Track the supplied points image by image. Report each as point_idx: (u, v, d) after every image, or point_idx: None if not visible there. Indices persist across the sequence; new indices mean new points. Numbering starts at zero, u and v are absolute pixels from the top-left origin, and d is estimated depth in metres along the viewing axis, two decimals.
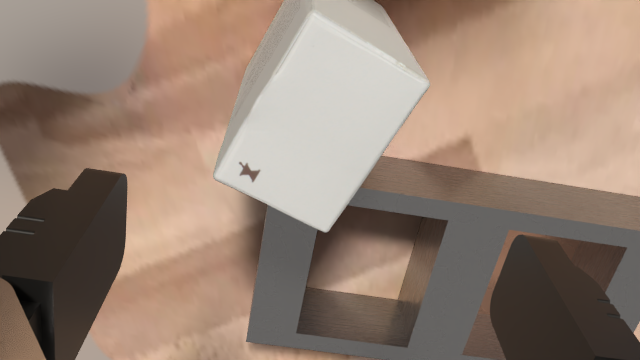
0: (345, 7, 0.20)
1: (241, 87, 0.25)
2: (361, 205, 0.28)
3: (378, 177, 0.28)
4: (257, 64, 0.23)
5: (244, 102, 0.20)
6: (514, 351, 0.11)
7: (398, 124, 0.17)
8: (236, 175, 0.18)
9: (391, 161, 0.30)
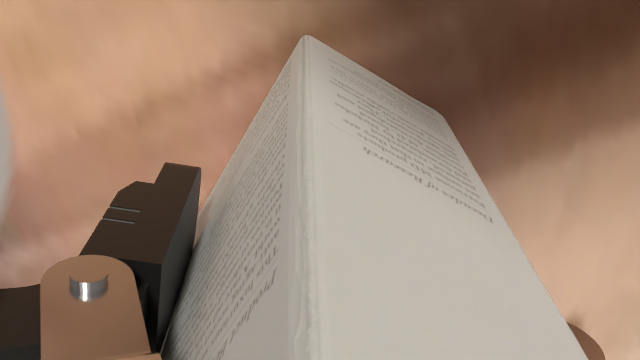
0: (404, 232, 0.07)
1: None
2: None
3: None
4: (193, 285, 0.11)
5: None
6: None
7: None
8: None
9: None
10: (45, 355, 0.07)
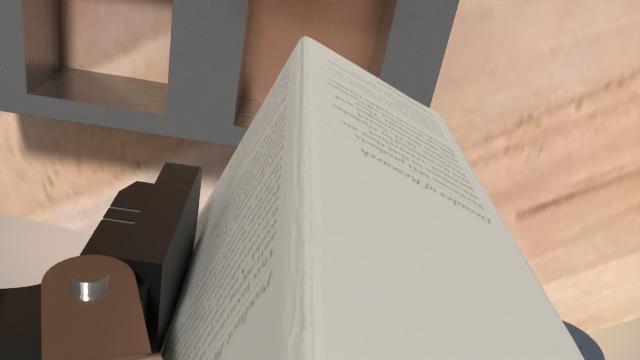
0: (400, 234, 0.07)
1: None
2: None
3: None
4: (192, 287, 0.11)
5: None
6: None
7: None
8: None
9: None
10: (45, 355, 0.07)
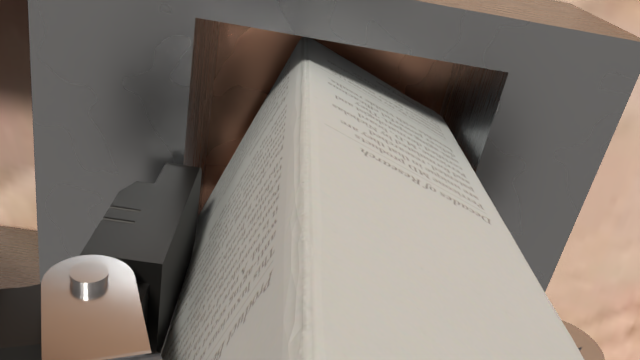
0: (400, 233, 0.07)
1: None
2: None
3: None
4: (192, 287, 0.11)
5: None
6: None
7: None
8: None
9: None
10: (45, 355, 0.07)
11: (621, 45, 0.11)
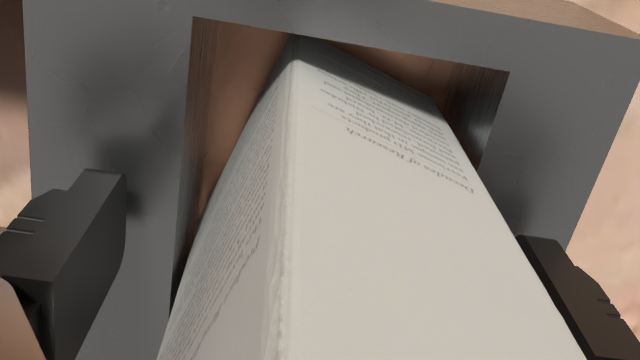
0: (380, 200, 0.08)
1: (180, 287, 0.13)
2: None
3: None
4: (199, 268, 0.11)
5: None
6: None
7: None
8: None
9: None
10: None
11: (624, 43, 0.11)
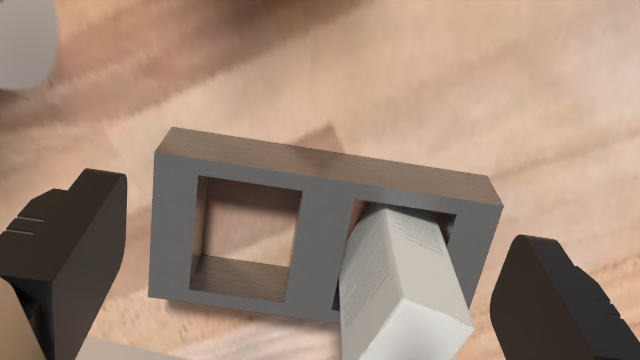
0: (416, 261, 0.31)
1: (341, 285, 0.36)
2: (229, 178, 0.34)
3: (247, 156, 0.34)
4: (354, 278, 0.34)
5: (354, 322, 0.31)
6: (514, 351, 0.11)
7: (456, 351, 0.28)
8: None
9: (266, 144, 0.36)
10: None
11: (493, 206, 0.34)
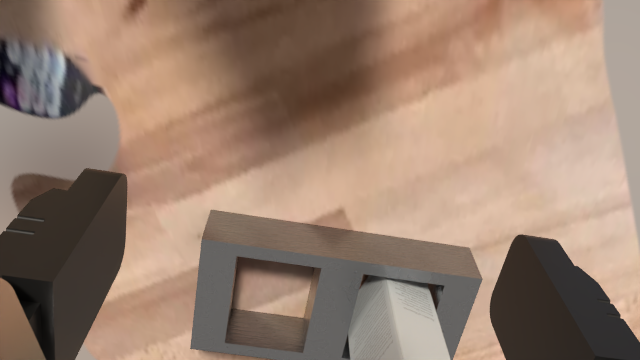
0: (413, 329, 0.39)
1: (350, 340, 0.44)
2: (262, 258, 0.41)
3: (276, 238, 0.42)
4: (362, 337, 0.43)
5: None
6: (514, 351, 0.11)
7: None
8: None
9: (289, 224, 0.44)
10: None
11: (474, 279, 0.42)
